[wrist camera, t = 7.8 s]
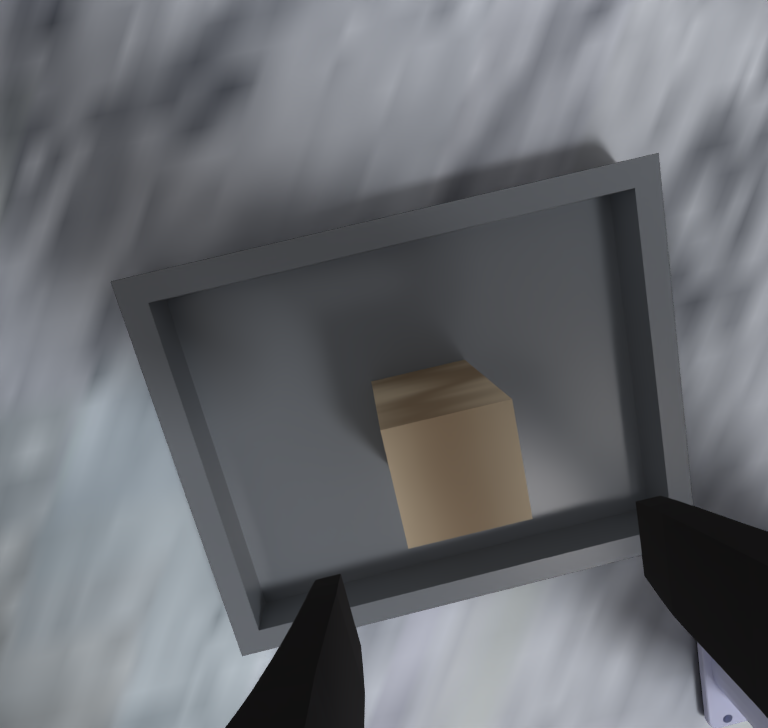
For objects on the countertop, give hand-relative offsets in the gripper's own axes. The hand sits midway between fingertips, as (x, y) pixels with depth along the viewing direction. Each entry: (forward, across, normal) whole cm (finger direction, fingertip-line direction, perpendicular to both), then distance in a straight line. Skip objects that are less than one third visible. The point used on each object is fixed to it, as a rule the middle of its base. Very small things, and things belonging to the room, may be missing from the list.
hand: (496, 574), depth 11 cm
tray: (+10, 0, -1) cm, 10 cm away
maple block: (+10, 0, -1) cm, 10 cm away
